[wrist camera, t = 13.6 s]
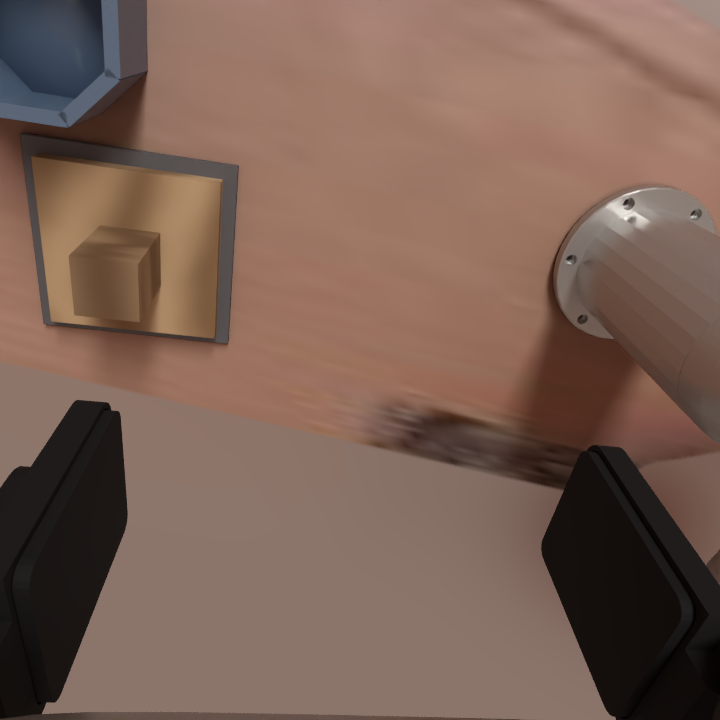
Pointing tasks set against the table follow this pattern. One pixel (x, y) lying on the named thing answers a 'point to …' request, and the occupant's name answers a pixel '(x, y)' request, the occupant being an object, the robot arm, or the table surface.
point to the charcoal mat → (150, 161)
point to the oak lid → (129, 245)
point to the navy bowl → (69, 57)
